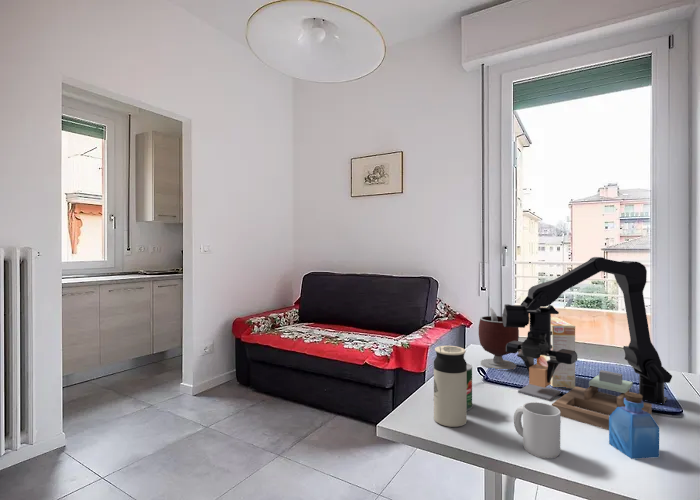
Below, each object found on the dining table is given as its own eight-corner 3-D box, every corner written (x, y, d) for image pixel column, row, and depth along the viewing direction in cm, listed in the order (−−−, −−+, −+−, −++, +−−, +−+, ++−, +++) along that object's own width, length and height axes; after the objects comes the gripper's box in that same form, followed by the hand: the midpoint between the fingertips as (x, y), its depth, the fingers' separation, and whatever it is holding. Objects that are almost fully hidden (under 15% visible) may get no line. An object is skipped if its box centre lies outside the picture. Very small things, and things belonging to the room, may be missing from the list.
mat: (530, 385, 124) (530, 383, 124) (561, 392, 118) (561, 390, 118) (518, 392, 118) (518, 390, 118) (549, 401, 112) (549, 398, 112)
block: (535, 380, 121) (535, 364, 121) (550, 383, 118) (550, 367, 118) (529, 383, 118) (529, 367, 118) (544, 387, 115) (544, 370, 115)
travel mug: (467, 416, 102) (467, 346, 101) (465, 430, 94) (465, 354, 94) (435, 412, 104) (435, 344, 104) (431, 425, 97) (431, 351, 96)
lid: (597, 378, 115) (597, 366, 115) (632, 385, 109) (632, 373, 109) (588, 385, 109) (588, 372, 109) (625, 393, 103) (625, 380, 103)
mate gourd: (525, 371, 139) (525, 314, 138) (485, 371, 139) (485, 314, 139) (508, 358, 154) (508, 307, 154) (472, 358, 154) (472, 307, 154)
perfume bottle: (609, 443, 87) (609, 390, 87) (635, 442, 88) (635, 389, 88) (631, 458, 81) (631, 400, 81) (659, 457, 82) (659, 399, 82)
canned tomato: (452, 397, 114) (452, 359, 114) (477, 405, 109) (477, 365, 109) (437, 405, 109) (437, 365, 109) (462, 413, 103) (462, 371, 103)
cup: (548, 462, 80) (549, 419, 80) (504, 442, 88) (504, 402, 88) (566, 452, 84) (567, 410, 84) (523, 434, 92) (523, 395, 92)
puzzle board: (575, 394, 116) (575, 377, 116) (651, 413, 103) (651, 394, 103) (551, 413, 103) (551, 394, 103) (635, 437, 90) (635, 415, 90)
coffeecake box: (535, 372, 137) (535, 316, 137) (557, 373, 136) (557, 317, 136) (551, 387, 122) (551, 324, 122) (576, 389, 121) (576, 325, 121)
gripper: (497, 327, 119) (497, 379, 119) (564, 337, 106) (564, 395, 106) (513, 322, 127) (513, 371, 127) (578, 331, 113) (577, 385, 113)
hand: (539, 380), depth 118 cm, fingers closed on block, 4 cm apart
